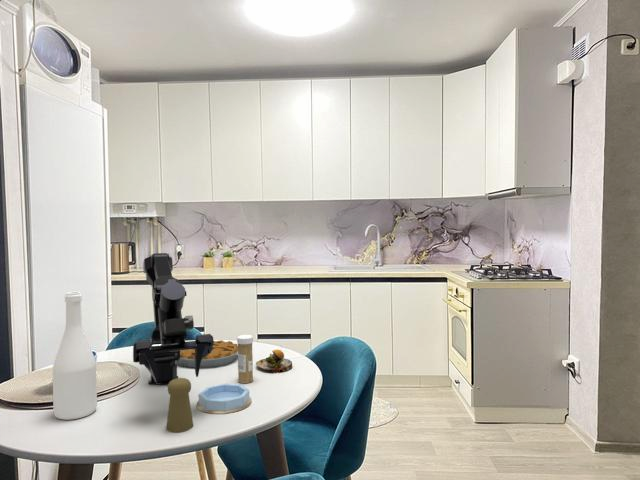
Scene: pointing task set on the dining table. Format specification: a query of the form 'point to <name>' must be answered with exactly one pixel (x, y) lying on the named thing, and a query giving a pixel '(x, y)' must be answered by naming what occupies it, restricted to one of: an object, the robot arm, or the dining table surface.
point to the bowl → (224, 397)
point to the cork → (179, 406)
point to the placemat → (223, 411)
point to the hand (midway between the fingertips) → (177, 378)
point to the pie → (211, 355)
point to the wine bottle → (74, 367)
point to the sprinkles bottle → (245, 358)
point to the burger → (275, 362)
